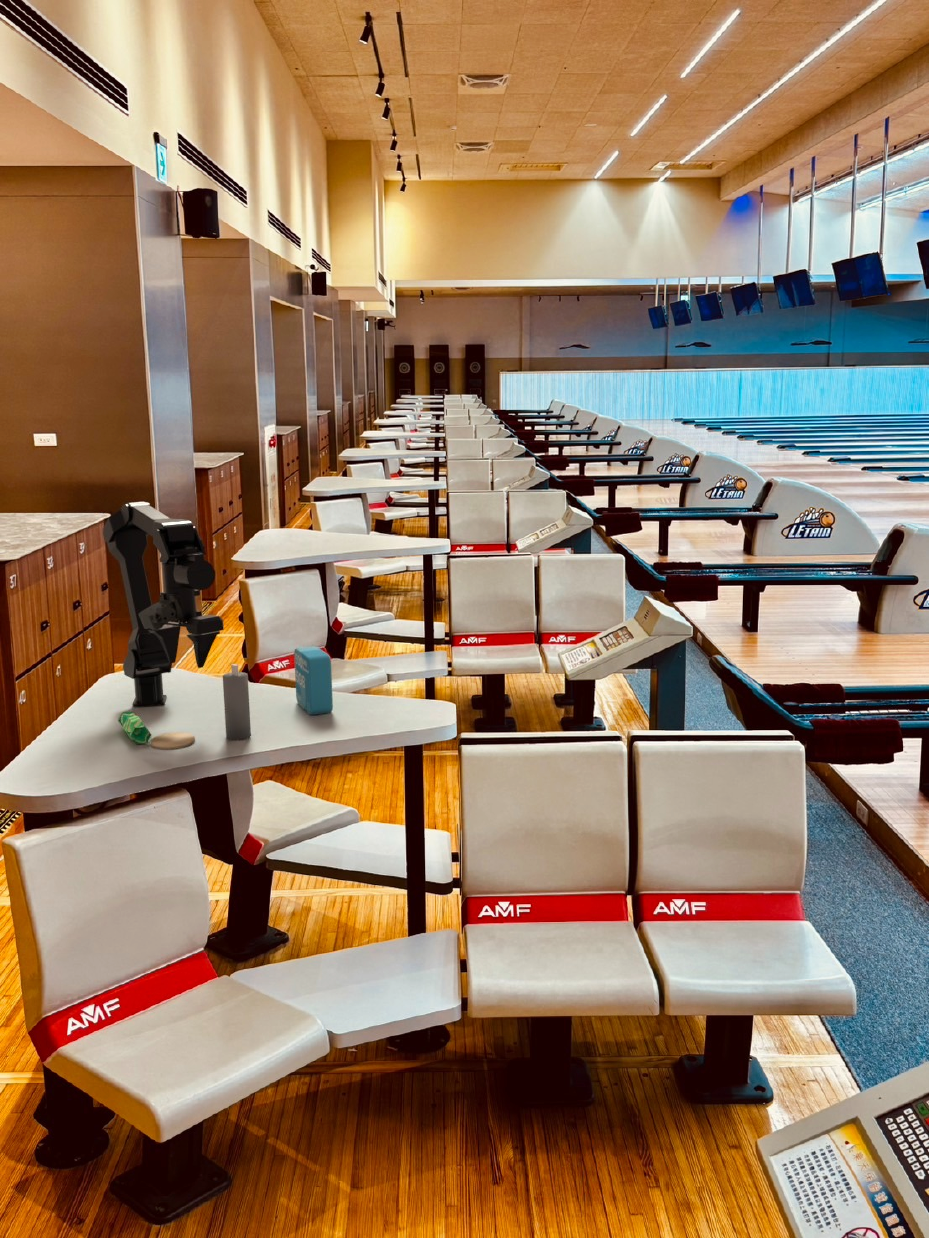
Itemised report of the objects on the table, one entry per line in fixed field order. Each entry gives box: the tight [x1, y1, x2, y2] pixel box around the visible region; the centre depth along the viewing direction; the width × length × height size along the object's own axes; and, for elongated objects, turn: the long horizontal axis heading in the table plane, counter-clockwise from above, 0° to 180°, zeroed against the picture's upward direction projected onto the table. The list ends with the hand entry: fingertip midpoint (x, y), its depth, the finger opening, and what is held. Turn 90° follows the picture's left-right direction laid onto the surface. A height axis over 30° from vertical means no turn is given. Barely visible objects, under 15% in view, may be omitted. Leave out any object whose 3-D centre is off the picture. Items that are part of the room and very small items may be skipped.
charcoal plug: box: [222, 663, 252, 741], centre depth 213 cm, size 5×5×14 cm
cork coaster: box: [150, 732, 196, 750], centre depth 211 cm, size 8×8×1 cm
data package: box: [293, 645, 334, 716], centre depth 232 cm, size 12×4×12 cm, turn 23°
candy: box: [117, 711, 152, 745], centre depth 215 cm, size 12×3×4 cm
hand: (186, 665), depth 222 cm, fingers open, 9 cm apart
